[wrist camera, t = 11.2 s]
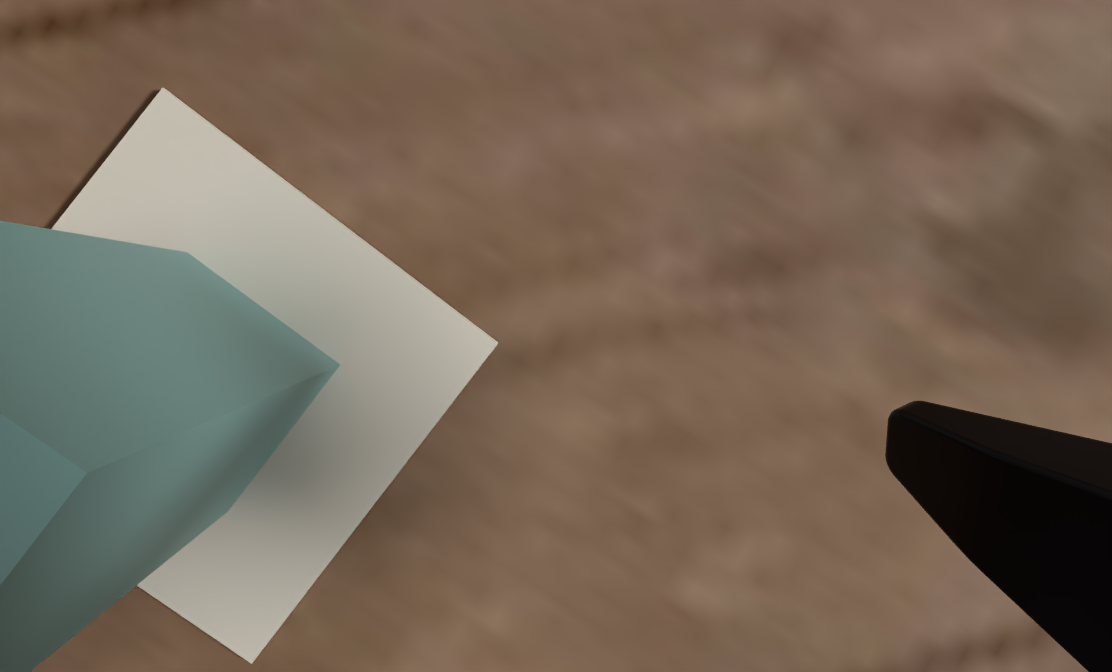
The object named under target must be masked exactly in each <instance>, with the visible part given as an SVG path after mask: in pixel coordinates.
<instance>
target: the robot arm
mask: <svg viewBox="0 0 1112 672" xmlns="http://www.w3.org/2000/svg"><path fill="white" fill-rule="evenodd" d="M885 456H886V462H887V465H888V467H889V469H890V470H891V472H892V473H893V475H894V476H895V477H896V478H897V479H898V481H899V482H900V483H901V484H902V485H903V486H904V487H905V488H906V490H907V491H908V492H909V493H910V494H911V495H912V496H913V497H914V499H915V500H916V501H917V502H918V503H919V504H920V505H921V506H922V508H923V509H924V510H925V511H926V512H927V513H928V514H929V515H930V517H931V518H932V519H933V520H934V521H935V522H936V523H937V524H938V526H939V527H940V528H941V529H942V530H943V531H944V532H945V533H946V535H947V536H948V537H949V538H950V539H951V540H952V541H953V543H954V544H955V545H956V546H957V547H958V548H959V549H960V550H961V551H962V552H963V553H964V554H965V555H966V557H967V558H968V559H969V560H970V561H971V562H972V563H973V564H974V565H975V566H976V567H977V568H979V569H980V570H981V571H982V572H983V573H984V574H985V575H986V576H987V577H988V578H989V579H990V580H991V581H992V582H993V583H994V584H995V585H996V586H998V587H999V588H1000V589H1001V590H1002V591H1003V592H1004V593H1005V594H1006V595H1007V596H1008V597H1009V598H1010V599H1011V600H1013V601H1014V602H1015V603H1016V604H1017V605H1018V606H1019V607H1020V608H1021V609H1022V610H1023V611H1024V612H1025V613H1026V614H1027V615H1029V616H1030V617H1031V618H1032V619H1033V620H1034V621H1035V622H1036V623H1037V624H1038V625H1039V626H1040V627H1041V628H1042V629H1044V630H1045V631H1046V632H1047V633H1048V634H1049V635H1050V636H1051V637H1052V638H1053V639H1054V640H1055V641H1056V642H1057V643H1059V644H1060V645H1061V646H1062V647H1063V648H1064V649H1065V650H1066V651H1067V652H1068V653H1069V654H1070V655H1071V656H1072V657H1073V658H1075V659H1076V660H1077V661H1078V662H1079V663H1080V664H1081V665H1082V666H1083V667H1084V668H1085V669H1086V670H1087V671H1088V672H1112V443H1108V442H1103V441H1099V440H1094V439H1090V438H1085V437H1081V436H1076V435H1072V434H1068V433H1063V432H1059V431H1054V430H1050V429H1045V428H1041V427H1036V426H1032V425H1027V424H1023V423H1019V422H1014V421H1010V420H1005V419H1001V418H996V417H992V416H987V415H983V414H978V413H974V412H969V411H965V410H961V409H956V408H952V407H947V406H943V405H938V404H934V403H929V402H925V401H913V402H910V403H908V404H906V405H904V406H902V407H900V408H898V409H896V410H894V411H893V412H891V414H890V416H889V418H888V427H887V440H886V454H885Z"/></svg>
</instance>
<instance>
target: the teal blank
mask: <svg viewBox="0 0 1112 672" xmlns="http://www.w3.org/2000/svg"><path fill="white" fill-rule="evenodd" d="M339 366H340V364H339V363H337V362H336V361H335V360H333V359H332V358H331V357H329V356H328V355H327V354H325V353H324V352H322V351H321V350H320V349H318V348H317V347H316V346H314V345H313V344H312V343H310V342H309V341H307V340H306V339H305V338H303V337H302V336H301V335H299V334H298V333H297V332H295V331H294V330H292V329H291V328H290V327H288V326H287V325H286V324H284V323H283V322H282V321H280V320H279V319H277V318H276V317H275V316H273V315H272V314H271V313H269V312H268V311H267V310H265V309H264V308H262V307H261V306H260V305H258V304H257V303H256V302H254V301H253V300H252V299H250V298H249V297H247V296H246V295H245V294H243V293H242V292H241V291H239V290H238V289H237V288H235V287H234V286H232V285H231V284H230V283H228V282H227V281H226V280H224V279H223V278H222V277H220V276H219V275H218V274H216V273H215V272H213V271H212V270H211V269H209V268H208V267H207V266H205V265H204V264H203V263H201V262H200V261H198V260H197V259H196V258H194V257H193V256H192V255H190V254H189V253H188V252H183V251H177V250H171V249H165V248H159V247H153V246H147V245H141V244H136V243H130V242H124V241H118V240H112V239H106V238H100V237H94V236H88V235H82V234H76V233H70V232H64V231H58V230H52V229H46V228H41V227H35V226H29V225H23V224H17V223H11V222H5V221H0V672H30V671H31V670H32V669H34V668H35V667H36V666H37V665H39V664H40V663H41V662H42V661H44V660H45V659H46V658H47V657H48V656H50V655H51V654H52V653H53V652H55V651H56V650H57V649H58V648H60V647H61V646H62V645H63V644H65V643H66V642H67V641H68V640H70V639H71V638H72V637H73V636H74V635H76V634H77V633H78V632H79V631H81V630H82V629H83V628H84V627H86V626H87V625H88V624H89V623H91V622H92V621H93V620H94V619H96V618H97V617H98V616H99V615H100V614H102V613H103V612H104V611H105V610H107V609H108V608H109V607H110V606H112V605H113V604H114V603H115V602H117V601H118V600H119V599H120V598H121V597H123V596H124V595H125V594H126V593H128V592H129V591H130V590H131V589H133V588H134V587H135V586H136V585H138V584H139V583H140V582H141V581H143V580H144V579H145V578H146V577H147V576H149V575H150V574H151V573H152V572H154V571H155V570H156V569H157V568H159V567H160V566H161V565H162V564H164V563H165V562H166V561H167V560H169V559H170V558H171V557H172V556H173V555H175V554H176V553H177V552H178V551H180V550H181V549H182V548H183V547H185V546H186V545H187V544H188V543H190V542H191V541H192V540H193V539H195V538H196V537H197V536H198V535H199V534H201V533H202V532H203V531H204V530H206V529H207V528H208V527H209V526H211V525H212V524H213V523H214V522H216V521H217V520H218V519H219V518H220V517H222V516H223V515H224V514H225V513H227V512H228V511H229V510H230V508H231V507H232V506H233V504H234V503H235V502H236V500H237V499H238V498H239V496H240V495H241V494H242V493H243V491H244V490H245V489H246V487H247V486H248V485H249V483H250V482H251V481H252V480H253V478H254V477H255V476H256V474H257V473H258V472H259V470H260V469H261V468H262V467H263V465H264V464H265V463H266V461H267V460H268V459H269V457H270V456H271V455H272V453H273V452H274V451H275V450H276V448H277V447H278V446H279V444H280V443H281V442H282V440H283V439H284V438H285V437H286V435H287V434H288V433H289V431H290V430H291V429H292V427H293V426H294V425H295V424H296V422H297V421H298V420H299V418H300V417H301V416H302V414H303V413H304V412H305V411H306V409H307V408H308V407H309V405H310V404H311V403H312V401H313V400H314V399H315V397H316V396H317V395H318V394H319V392H320V391H321V390H322V388H323V387H324V386H325V384H326V383H327V382H328V381H329V379H330V378H331V377H332V375H333V374H334V373H335V371H336V370H337V369H338V368H339Z"/></svg>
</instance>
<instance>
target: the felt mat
mask: <svg viewBox="0 0 1112 672" xmlns="http://www.w3.org/2000/svg"><path fill="white" fill-rule="evenodd" d="M52 230H58V231H64V232H70V233H76V234H82V235H88V236H94V237H100V238H106V239H112V240H118V241H124V242H130V243H136V244H141V245H147V246H153V247H159V248H165V249H171V250H177V251H183V252H188V253H189V254H190V255H192V256H193V257H194V258H196V259H197V260H198V261H200V262H201V263H203V264H204V265H205V266H207V267H208V268H209V269H211V270H212V271H213V272H215V273H216V274H218V275H219V276H220V277H222V278H223V279H224V280H226V281H227V282H228V283H230V284H231V285H232V286H234V287H235V288H237V289H238V290H239V291H241V292H242V293H243V294H245V295H246V296H247V297H249V298H250V299H252V300H253V301H254V302H256V303H257V304H258V305H260V306H261V307H262V308H264V309H265V310H267V311H268V312H269V313H271V314H272V315H273V316H275V317H276V318H277V319H279V320H280V321H282V322H283V323H284V324H286V325H287V326H288V327H290V328H291V329H292V330H294V331H295V332H297V333H298V334H299V335H301V336H302V337H303V338H305V339H306V340H307V341H309V342H310V343H312V344H313V345H314V346H316V347H317V348H318V349H320V350H321V351H322V352H324V353H325V354H327V355H328V356H329V357H331V358H332V359H333V360H335V361H336V362H337V363H339V364H340V366H339V368H338V369H337V370H336V371H335V373H334V374H333V375H332V377H331V378H330V379H329V381H328V382H327V383H326V384H325V386H324V387H323V388H322V390H321V391H320V392H319V394H318V395H317V396H316V397H315V399H314V400H313V401H312V403H311V404H310V405H309V407H308V408H307V409H306V411H305V412H304V413H303V414H302V416H301V417H300V418H299V420H298V421H297V422H296V424H295V425H294V426H293V427H292V429H291V430H290V431H289V433H288V434H287V435H286V437H285V438H284V439H283V440H282V442H281V443H280V444H279V446H278V447H277V448H276V450H275V451H274V452H273V453H272V455H271V456H270V457H269V459H268V460H267V461H266V463H265V464H264V465H263V467H262V468H261V469H260V470H259V472H258V473H257V474H256V476H255V477H254V478H253V480H252V481H251V482H250V483H249V485H248V486H247V487H246V489H245V490H244V491H243V493H242V494H241V495H240V496H239V498H238V499H237V500H236V502H235V503H234V504H233V506H232V507H231V508H230V510H229V511H228V512H227V513H225V514H224V515H223V516H222V517H220V518H219V519H218V520H217V521H216V522H214V523H213V524H212V525H211V526H209V527H208V528H207V529H206V530H204V531H203V532H202V533H201V534H199V535H198V536H197V537H196V538H195V539H193V540H192V541H191V542H190V543H188V544H187V545H186V546H185V547H183V548H182V549H181V550H180V551H178V552H177V553H176V554H175V555H173V556H172V557H171V558H170V559H169V560H167V561H166V562H165V563H164V564H162V565H161V566H160V567H159V568H157V569H156V570H155V571H154V572H152V573H151V574H150V575H149V576H147V577H146V578H145V579H144V580H143V581H141V582H140V583H139V584H138V585H137V586H138V587H140V588H141V589H143V590H144V591H146V592H147V593H149V594H150V595H151V596H153V597H154V598H156V599H157V600H159V601H160V602H162V603H163V604H165V605H166V606H168V607H169V608H171V609H172V610H173V611H175V612H176V613H178V614H179V615H181V616H182V617H184V618H185V619H187V620H188V621H190V622H191V623H192V624H194V625H195V626H197V627H198V628H200V629H201V630H203V631H204V632H206V633H207V634H209V635H210V636H212V637H213V638H214V639H216V640H217V641H219V642H220V643H222V644H223V645H225V646H226V647H228V648H229V649H231V650H232V651H233V652H235V653H236V654H238V655H239V656H241V657H242V658H244V659H245V660H247V661H248V662H250V663H251V664H252V663H253V661H254V660H255V659H256V657H257V656H258V655H259V654H260V652H261V651H262V650H263V648H264V647H265V646H266V644H267V643H268V642H269V641H270V639H271V638H272V637H273V635H274V634H275V633H276V631H277V630H278V629H279V628H280V626H281V625H282V624H283V622H284V621H285V620H286V618H287V617H288V616H289V615H290V613H291V612H292V611H293V609H294V608H295V607H296V605H297V604H298V603H299V602H300V600H301V599H302V598H303V596H304V595H305V594H306V592H307V591H308V590H309V589H310V587H311V586H312V585H313V583H314V582H315V581H316V579H317V578H318V577H319V576H320V574H321V573H322V572H323V570H324V569H325V568H326V566H327V565H328V564H329V563H330V561H331V560H332V559H333V557H334V556H335V555H336V553H337V552H338V551H339V549H340V548H341V547H342V546H343V544H344V543H345V542H346V540H347V539H348V538H349V536H350V535H351V534H352V533H353V531H354V530H355V529H356V527H357V526H358V525H359V523H360V522H361V521H362V520H363V518H364V517H365V516H366V514H367V513H368V512H369V510H370V509H371V508H372V507H373V505H374V504H375V503H376V501H377V500H378V499H379V497H380V496H381V495H382V494H383V492H384V491H385V490H386V488H387V487H388V486H389V484H390V483H391V482H392V481H393V479H394V478H395V477H396V475H397V474H398V473H399V471H400V470H401V469H402V468H403V466H404V465H405V464H406V462H407V461H408V460H409V458H410V457H411V456H412V455H413V453H414V452H415V451H416V449H417V448H418V447H419V445H420V444H421V443H422V442H423V440H424V439H425V438H426V436H427V435H428V434H429V432H430V431H431V430H432V429H433V427H434V426H435V425H436V423H437V422H438V421H439V419H440V418H441V417H442V416H443V414H444V413H445V412H446V410H447V409H448V408H449V406H450V405H451V404H452V403H453V401H454V400H455V399H456V397H457V396H458V395H459V393H460V392H461V391H462V390H463V388H464V387H465V386H466V384H467V383H468V382H469V380H470V379H471V378H472V377H473V375H474V374H475V373H476V371H477V370H478V369H479V367H480V366H481V365H482V364H483V362H484V361H485V360H486V358H487V357H488V356H489V354H490V353H491V352H492V351H493V349H494V348H495V347H496V345H497V344H498V342H497V341H496V340H494V339H493V338H492V337H490V336H489V335H488V334H486V333H485V332H484V331H482V330H481V329H480V328H478V327H477V326H476V325H475V324H473V323H472V322H471V321H469V320H468V319H467V318H465V317H464V316H463V315H461V314H460V313H459V312H457V311H456V310H455V309H454V308H452V307H451V306H450V305H448V304H447V303H446V302H444V301H443V300H442V299H440V298H439V297H438V296H436V295H435V294H434V293H433V292H431V291H430V290H429V289H427V288H426V287H425V286H423V285H422V284H421V283H419V282H418V281H417V280H415V279H414V278H413V277H412V276H410V275H409V274H408V273H406V272H405V271H404V270H402V269H401V268H400V267H398V266H397V265H396V264H395V263H393V262H392V261H391V260H389V259H388V258H387V257H385V256H384V255H383V254H381V253H380V252H379V251H377V250H376V249H375V248H374V247H372V246H371V245H370V244H368V243H367V242H366V241H364V240H363V239H362V238H360V237H359V236H358V235H356V234H355V233H354V232H353V231H351V230H350V229H349V228H347V227H346V226H345V225H343V224H342V223H341V222H339V221H338V220H337V219H335V218H334V217H333V216H332V215H330V214H329V213H328V212H326V211H325V210H324V209H322V208H321V207H320V206H318V205H317V204H316V203H314V202H313V201H312V200H311V199H309V198H308V197H307V196H305V195H304V194H303V193H301V192H300V191H299V190H297V189H296V188H295V187H293V186H292V185H291V184H290V183H288V182H287V181H286V180H284V179H283V178H282V177H280V176H279V175H278V174H276V173H275V172H274V171H272V170H271V169H270V168H269V167H267V166H266V165H265V164H263V163H262V162H261V161H259V160H258V159H257V158H255V157H254V156H253V155H251V154H250V153H249V152H248V151H246V150H245V149H244V148H242V147H241V146H240V145H238V144H237V143H236V142H234V141H233V140H232V139H230V138H229V137H228V136H227V135H225V134H224V133H223V132H221V131H220V130H219V129H217V128H216V127H215V126H213V125H212V124H211V123H209V122H208V121H207V120H206V119H204V118H203V117H202V116H200V115H199V114H198V113H196V112H195V111H194V110H192V109H191V108H190V107H189V106H187V105H186V104H185V103H183V102H182V101H181V100H179V99H178V98H177V97H175V96H174V95H173V94H171V93H170V92H169V91H167V90H166V89H164V88H162V89H161V90H160V92H159V93H158V94H157V95H156V97H155V98H154V99H153V100H152V102H151V103H150V104H149V105H148V107H147V108H146V109H145V111H144V112H143V113H142V114H141V116H140V117H139V118H138V119H137V121H136V122H135V123H134V125H133V126H132V127H131V128H130V130H129V131H128V132H127V133H126V135H125V136H124V137H123V139H122V140H121V141H120V142H119V144H118V145H117V146H116V147H115V149H114V150H113V151H112V152H111V154H110V155H109V156H108V158H107V159H106V160H105V161H104V163H103V164H102V165H101V166H100V168H99V169H98V170H97V172H96V173H95V174H94V175H93V177H92V178H91V179H90V180H89V182H88V183H87V184H86V186H85V187H84V188H83V189H82V191H81V192H80V193H79V194H78V196H77V197H76V198H75V199H74V201H73V202H72V203H71V205H70V206H69V207H68V208H67V210H66V211H65V212H64V213H63V215H62V216H61V217H60V219H59V220H58V221H57V222H56V224H55V225H54V226H53V227H52Z"/></svg>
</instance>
